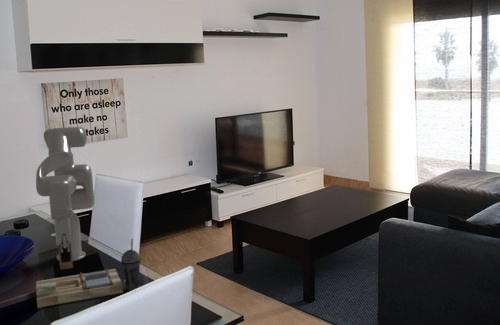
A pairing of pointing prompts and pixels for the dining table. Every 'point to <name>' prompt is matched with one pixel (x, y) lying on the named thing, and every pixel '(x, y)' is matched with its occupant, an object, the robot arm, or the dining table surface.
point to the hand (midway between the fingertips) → (65, 258)
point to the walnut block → (65, 264)
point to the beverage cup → (131, 268)
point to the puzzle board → (74, 289)
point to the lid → (97, 279)
